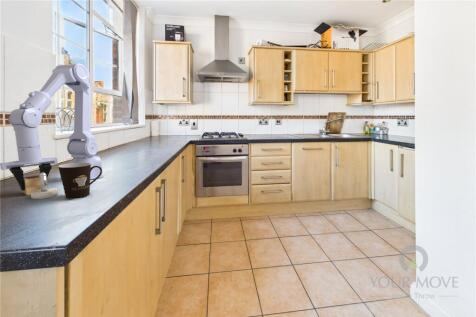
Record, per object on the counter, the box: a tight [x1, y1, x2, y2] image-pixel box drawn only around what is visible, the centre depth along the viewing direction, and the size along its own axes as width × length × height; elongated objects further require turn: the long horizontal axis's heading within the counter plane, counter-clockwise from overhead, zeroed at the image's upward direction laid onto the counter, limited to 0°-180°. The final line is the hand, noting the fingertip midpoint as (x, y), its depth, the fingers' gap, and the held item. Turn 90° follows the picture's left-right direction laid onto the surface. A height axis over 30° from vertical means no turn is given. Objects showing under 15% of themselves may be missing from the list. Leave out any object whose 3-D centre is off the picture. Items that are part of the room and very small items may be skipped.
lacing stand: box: [30, 187, 59, 200], centre depth 82 cm, size 7×7×2 cm
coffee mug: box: [57, 162, 103, 200], centre depth 82 cm, size 12×9×10 cm
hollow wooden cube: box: [21, 174, 41, 196], centre depth 85 cm, size 5×5×5 cm
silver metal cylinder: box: [38, 172, 49, 192], centre depth 82 cm, size 2×2×6 cm
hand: (33, 188), depth 86 cm, fingers closed on hollow wooden cube, 5 cm apart
